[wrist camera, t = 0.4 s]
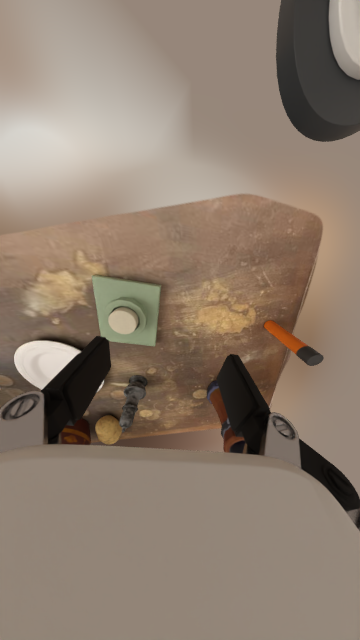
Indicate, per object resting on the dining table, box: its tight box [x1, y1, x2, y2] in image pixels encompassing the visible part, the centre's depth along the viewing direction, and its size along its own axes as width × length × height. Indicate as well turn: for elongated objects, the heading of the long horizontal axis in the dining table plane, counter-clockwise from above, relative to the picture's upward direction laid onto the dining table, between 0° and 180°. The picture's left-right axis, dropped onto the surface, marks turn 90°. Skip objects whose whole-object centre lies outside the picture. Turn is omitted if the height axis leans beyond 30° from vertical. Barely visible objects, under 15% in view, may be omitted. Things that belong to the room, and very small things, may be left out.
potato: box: [95, 415, 122, 444], centre depth 44 cm, size 7×11×6 cm, turn 10°
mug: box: [207, 380, 245, 454], centre depth 31 cm, size 18×12×15 cm, turn 15°
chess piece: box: [119, 375, 147, 433], centre depth 32 cm, size 6×6×12 cm
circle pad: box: [108, 307, 139, 334], centre depth 24 cm, size 5×5×2 cm
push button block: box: [92, 275, 161, 346], centre depth 26 cm, size 14×12×3 cm
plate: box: [14, 340, 104, 393], centre depth 33 cm, size 21×21×2 cm
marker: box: [264, 320, 323, 366], centre depth 24 cm, size 2×2×11 cm
